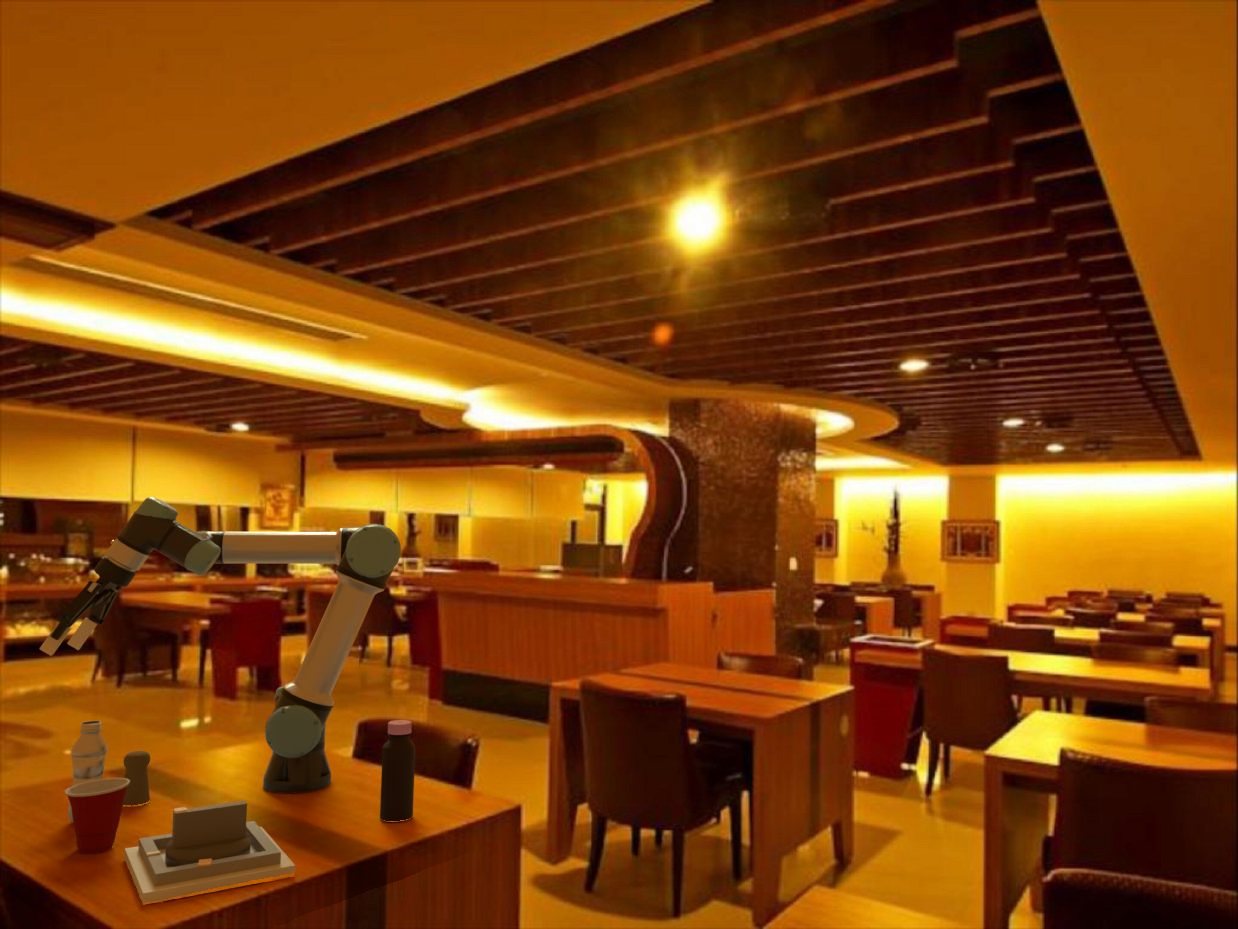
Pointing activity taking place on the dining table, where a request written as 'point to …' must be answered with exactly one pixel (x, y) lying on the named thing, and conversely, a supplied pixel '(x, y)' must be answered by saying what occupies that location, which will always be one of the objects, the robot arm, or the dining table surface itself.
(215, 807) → the oval knob with handle
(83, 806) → the plastic cup
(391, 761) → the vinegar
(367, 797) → the dining table surface
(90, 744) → the plastic bottle
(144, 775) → the cork
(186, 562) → the robot arm
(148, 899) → the panel
